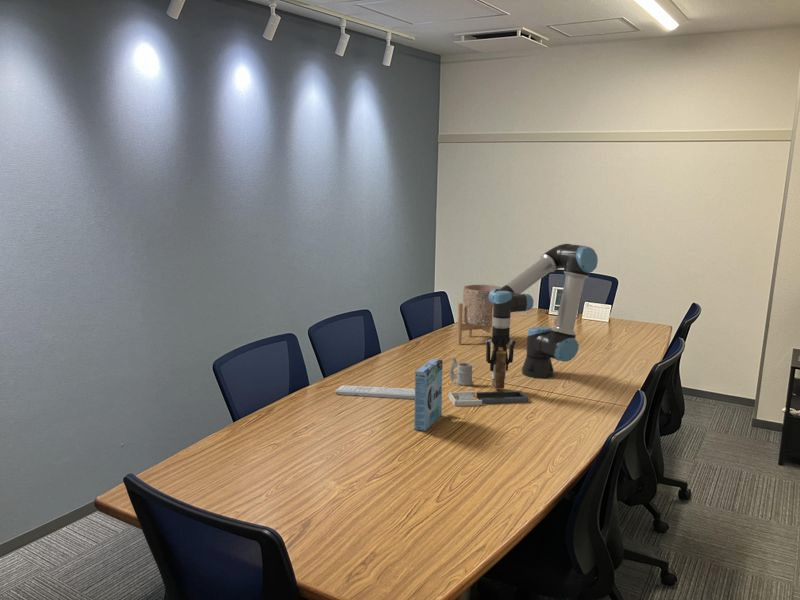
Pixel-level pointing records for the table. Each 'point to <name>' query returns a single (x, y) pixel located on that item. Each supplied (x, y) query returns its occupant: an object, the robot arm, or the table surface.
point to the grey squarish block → (461, 396)
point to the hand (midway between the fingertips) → (498, 377)
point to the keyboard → (377, 392)
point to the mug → (462, 373)
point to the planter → (475, 310)
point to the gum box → (428, 394)
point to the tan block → (499, 369)
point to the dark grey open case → (502, 397)
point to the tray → (463, 402)
